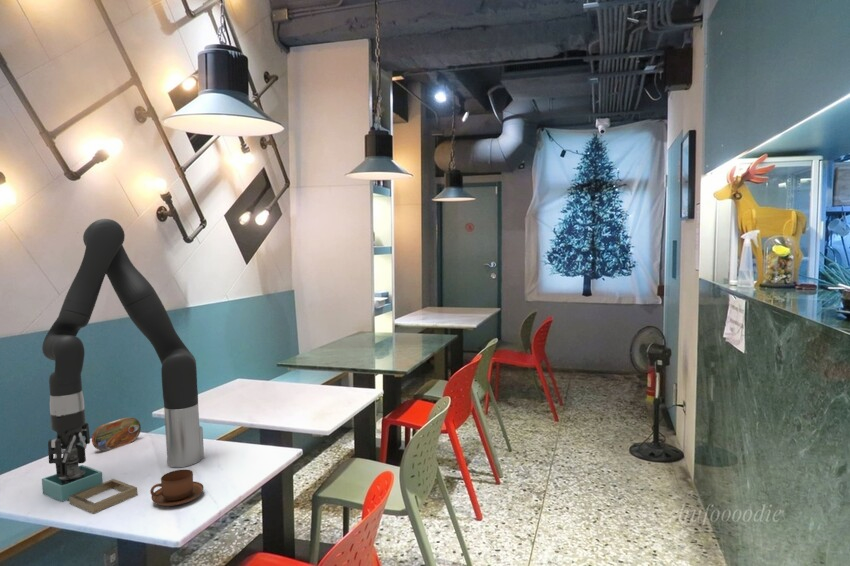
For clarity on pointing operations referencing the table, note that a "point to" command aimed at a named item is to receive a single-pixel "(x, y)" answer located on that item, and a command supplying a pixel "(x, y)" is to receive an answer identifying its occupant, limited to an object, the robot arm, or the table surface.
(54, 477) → the bin
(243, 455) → the table surface
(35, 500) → the table surface
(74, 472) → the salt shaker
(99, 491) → the socket collar
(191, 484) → the cup and saucer
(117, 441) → the tin
